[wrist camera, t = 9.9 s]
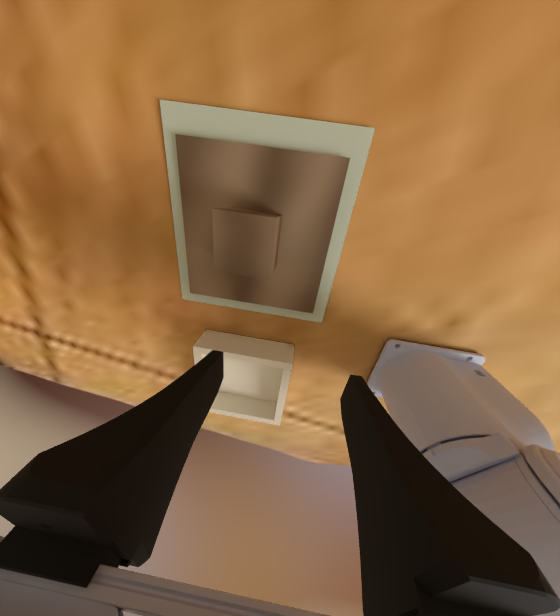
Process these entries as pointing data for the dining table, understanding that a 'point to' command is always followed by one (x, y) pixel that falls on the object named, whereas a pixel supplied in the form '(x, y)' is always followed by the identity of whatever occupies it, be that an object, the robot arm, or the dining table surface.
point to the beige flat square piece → (269, 134)
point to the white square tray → (249, 375)
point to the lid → (257, 220)
